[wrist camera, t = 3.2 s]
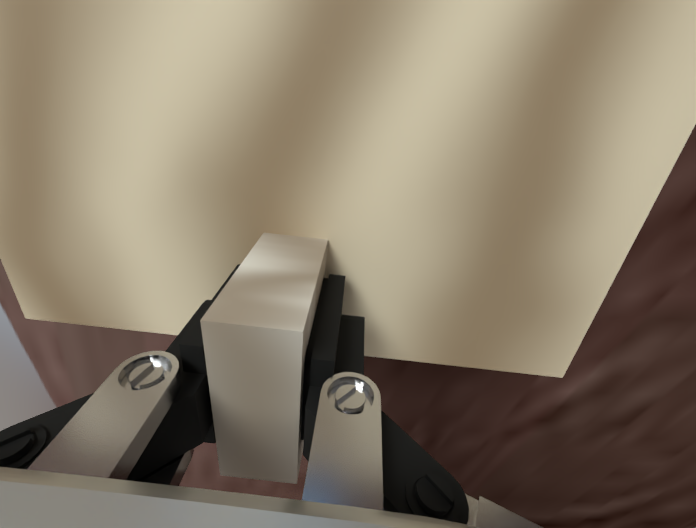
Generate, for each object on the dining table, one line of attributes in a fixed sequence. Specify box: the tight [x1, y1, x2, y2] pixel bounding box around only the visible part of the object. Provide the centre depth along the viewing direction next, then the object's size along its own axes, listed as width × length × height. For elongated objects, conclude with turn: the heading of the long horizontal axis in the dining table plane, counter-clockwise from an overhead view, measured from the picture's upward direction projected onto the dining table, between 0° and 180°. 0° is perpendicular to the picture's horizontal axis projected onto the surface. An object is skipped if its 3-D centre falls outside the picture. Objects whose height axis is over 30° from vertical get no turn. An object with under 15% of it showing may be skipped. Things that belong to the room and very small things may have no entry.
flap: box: [0, 0, 696, 484], centre depth 8 cm, size 20×14×5 cm
